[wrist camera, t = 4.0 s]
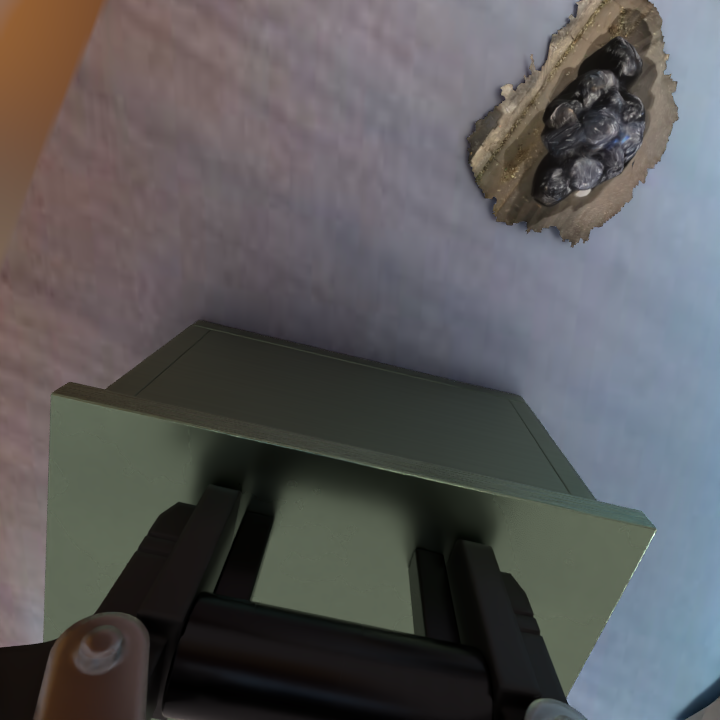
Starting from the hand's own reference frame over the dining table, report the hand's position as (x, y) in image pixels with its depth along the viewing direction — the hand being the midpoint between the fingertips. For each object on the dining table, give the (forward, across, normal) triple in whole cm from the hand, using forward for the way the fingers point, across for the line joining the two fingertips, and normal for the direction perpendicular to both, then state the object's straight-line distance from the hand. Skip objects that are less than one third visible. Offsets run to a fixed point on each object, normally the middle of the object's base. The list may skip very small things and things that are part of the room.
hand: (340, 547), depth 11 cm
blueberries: (+10, -5, -12) cm, 16 cm away
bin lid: (+1, 0, +5) cm, 5 cm away
